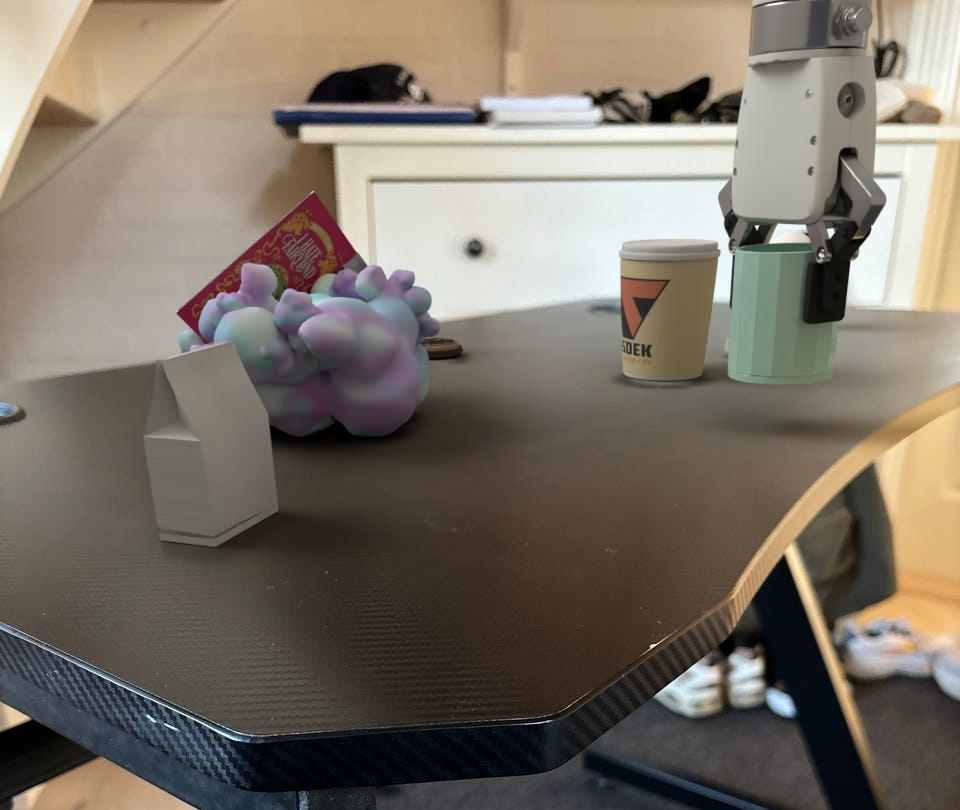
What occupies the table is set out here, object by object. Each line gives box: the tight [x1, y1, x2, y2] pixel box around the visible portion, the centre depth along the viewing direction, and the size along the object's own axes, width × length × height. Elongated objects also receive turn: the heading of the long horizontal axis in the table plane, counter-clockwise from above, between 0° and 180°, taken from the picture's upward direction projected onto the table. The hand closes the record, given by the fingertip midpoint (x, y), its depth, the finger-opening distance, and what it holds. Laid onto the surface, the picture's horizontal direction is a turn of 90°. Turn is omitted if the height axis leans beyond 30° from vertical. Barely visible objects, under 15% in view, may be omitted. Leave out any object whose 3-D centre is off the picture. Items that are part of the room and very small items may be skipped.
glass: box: [727, 242, 840, 386], centre depth 74 cm, size 8×8×9 cm
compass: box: [420, 337, 464, 359], centre depth 110 cm, size 8×8×7 cm
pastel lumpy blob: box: [175, 190, 441, 438], centre depth 79 cm, size 20×22×18 cm
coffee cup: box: [618, 238, 722, 382], centre depth 96 cm, size 9×9×12 cm
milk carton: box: [142, 341, 279, 548], centre depth 57 cm, size 4×7×10 cm, turn 160°
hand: (784, 313), depth 74 cm, fingers closed on glass, 7 cm apart
